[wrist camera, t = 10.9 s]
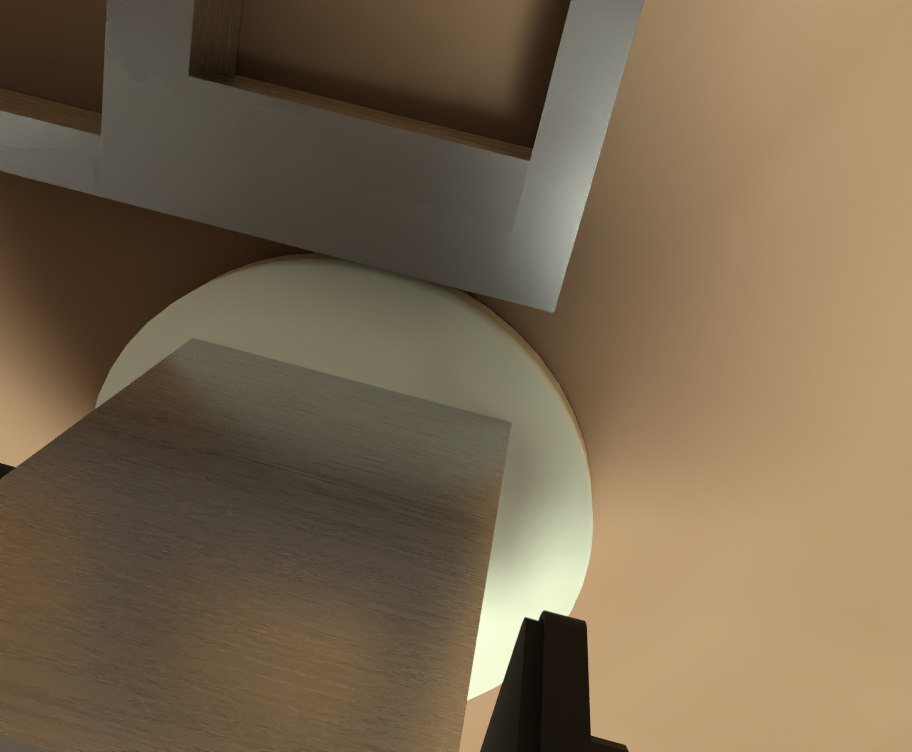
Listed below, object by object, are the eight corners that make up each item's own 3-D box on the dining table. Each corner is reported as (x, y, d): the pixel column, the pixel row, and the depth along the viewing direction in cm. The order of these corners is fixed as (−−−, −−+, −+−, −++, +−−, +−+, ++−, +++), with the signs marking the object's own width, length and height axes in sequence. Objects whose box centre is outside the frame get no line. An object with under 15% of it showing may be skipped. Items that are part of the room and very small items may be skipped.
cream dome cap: (102, 617, 15) (79, 645, 15) (126, 193, 12) (97, 202, 11) (519, 733, 15) (517, 768, 14) (661, 330, 12) (667, 348, 11)
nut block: (192, 337, 12) (-271, 678, 5) (512, 422, 12) (437, 883, 5) (166, 596, 14) (-196, 1076, 7) (440, 671, 14) (320, 1237, 7)
